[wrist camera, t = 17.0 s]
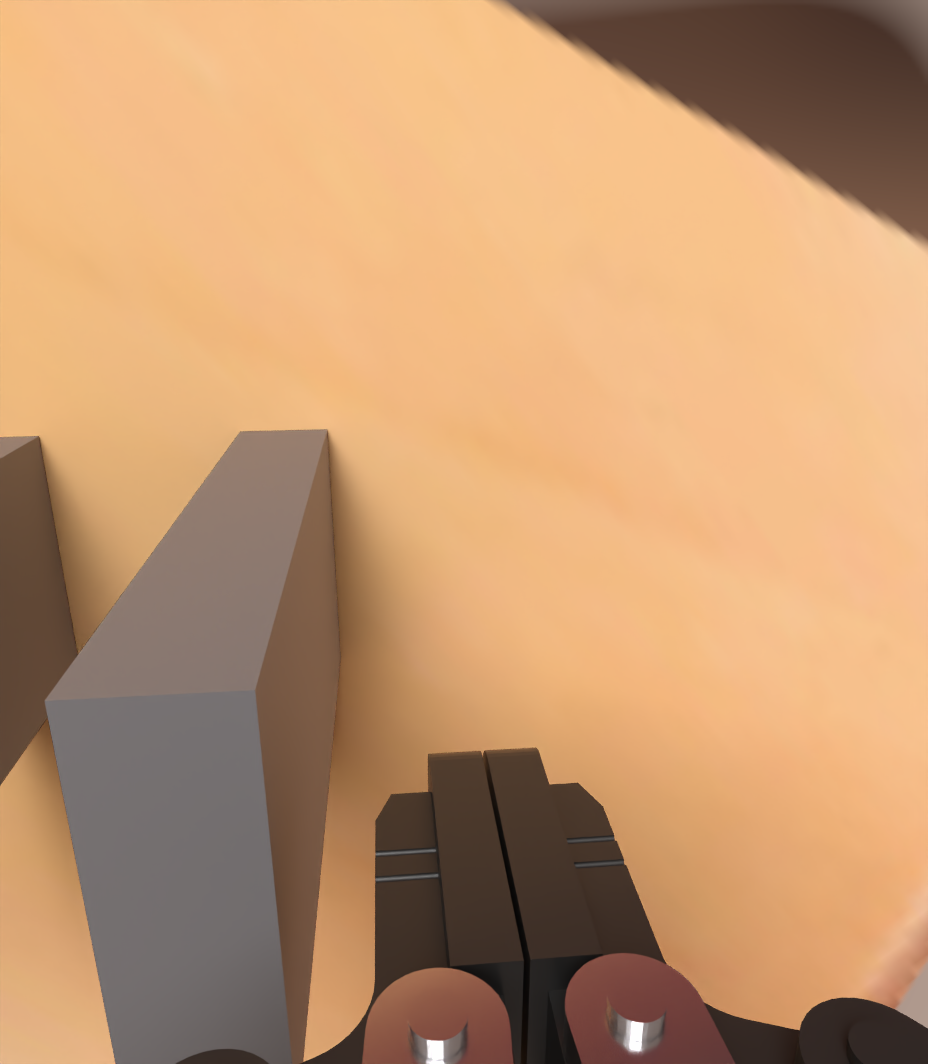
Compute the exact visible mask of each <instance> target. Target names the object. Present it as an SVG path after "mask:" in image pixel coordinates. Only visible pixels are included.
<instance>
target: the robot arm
mask: <svg viewBox="0 0 928 1064" xmlns="http://www.w3.org/2000/svg"><path fill="white" fill-rule="evenodd" d="M375 852H376V857H375V881H376V883H375V986H374V993H373V997H372V1000H371V1003H370V1005H369V1008H368V1010H367V1012H366V1014H365V1015H364V1017H363V1018H362V1020H361V1022H360V1023H359V1024H358V1026H357V1027H356V1028H355V1029H354V1030H353V1031H352V1032H351V1033H350V1035H348V1036H347V1037H346V1038H345V1039H344V1040H343V1041H341V1042H340V1043H339V1044H338V1045H336V1046H335V1047H333V1048H332V1049H330V1050H328V1051H327V1052H325V1053H323V1054H321V1055H319V1056H317V1057H315V1058H312V1059H310V1060H308V1061H305V1062H303V1063H300V1064H928V1028H926V1027H924V1026H923V1025H921V1024H919V1023H918V1022H916V1021H914V1020H913V1019H911V1018H909V1017H908V1016H906V1015H904V1014H902V1013H900V1012H898V1011H897V1010H895V1009H892V1008H890V1007H887V1006H885V1005H883V1004H880V1003H876V1002H873V1001H869V1000H864V999H858V998H837V999H831V1000H828V1001H825V1002H822V1003H820V1004H818V1005H817V1006H815V1007H813V1008H812V1009H811V1010H810V1011H809V1012H808V1013H807V1014H806V1016H805V1018H804V1019H803V1021H802V1023H801V1027H800V1031H799V1030H794V1029H789V1028H785V1027H780V1026H775V1025H770V1024H766V1023H761V1022H756V1021H751V1020H747V1019H743V1018H739V1017H735V1016H732V1015H729V1014H727V1013H724V1012H722V1011H719V1010H717V1009H715V1008H713V1007H711V1006H710V1005H708V1004H706V1003H704V1002H703V1000H702V999H701V997H700V995H699V994H698V992H697V990H696V989H695V988H694V987H693V986H692V984H691V983H690V982H689V981H688V980H687V979H686V978H685V977H684V976H682V975H681V974H680V973H679V972H678V971H676V970H675V969H673V968H672V967H670V966H668V965H666V962H665V960H664V958H663V956H662V954H661V951H660V949H659V946H658V944H657V941H656V939H655V936H654V934H653V931H652V929H651V926H650V924H649V921H648V919H647V916H646V914H645V911H644V909H643V906H642V904H641V901H640V899H639V896H638V894H637V891H636V889H635V886H634V884H633V881H632V879H631V876H630V874H629V871H628V869H627V866H626V865H624V859H623V856H622V854H621V851H620V849H619V846H618V844H617V841H615V840H614V833H613V831H612V828H611V826H610V823H609V821H608V818H607V816H606V813H605V811H604V808H603V806H602V805H601V804H600V803H599V802H597V801H596V800H595V799H594V798H593V797H592V796H591V795H590V794H589V793H588V792H587V791H586V790H585V789H584V788H583V787H582V786H581V785H580V784H579V783H569V784H552V785H549V782H548V779H547V776H546V773H545V770H544V767H543V763H542V760H541V757H540V754H539V751H538V749H537V748H522V749H504V750H486V751H484V753H483V757H482V753H481V751H472V752H454V753H436V754H428V792H422V793H405V794H391V796H390V798H389V799H388V801H387V803H386V804H385V806H384V808H383V809H382V811H381V813H380V814H379V816H378V818H377V819H376V844H375ZM176 1064H269V1063H268V1062H266V1061H265V1060H264V1059H262V1058H261V1057H259V1056H257V1055H255V1054H253V1053H250V1052H247V1051H243V1050H237V1049H215V1050H210V1051H205V1052H201V1053H198V1054H195V1055H192V1056H189V1057H187V1058H185V1059H183V1060H181V1061H179V1062H177V1063H176Z"/></svg>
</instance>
